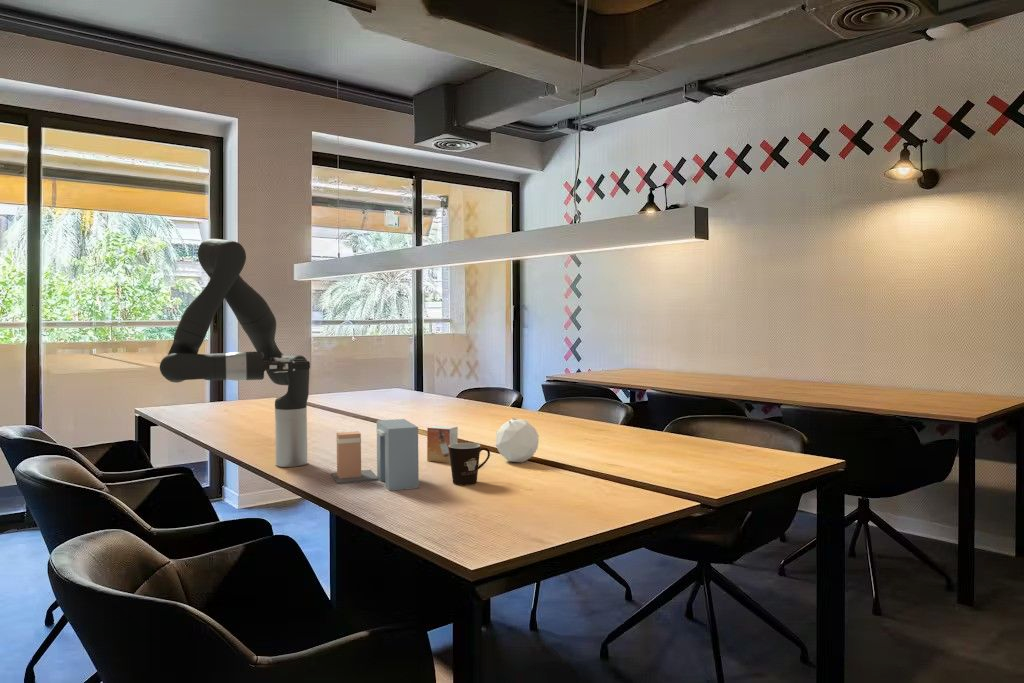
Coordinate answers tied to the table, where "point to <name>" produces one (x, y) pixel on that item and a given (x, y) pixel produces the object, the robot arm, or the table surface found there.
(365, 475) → the mat
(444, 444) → the small box
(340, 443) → the small cardboard carton
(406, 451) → the dispenser
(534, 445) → the geodesic sphere
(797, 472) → the table surface
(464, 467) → the coffee mug
